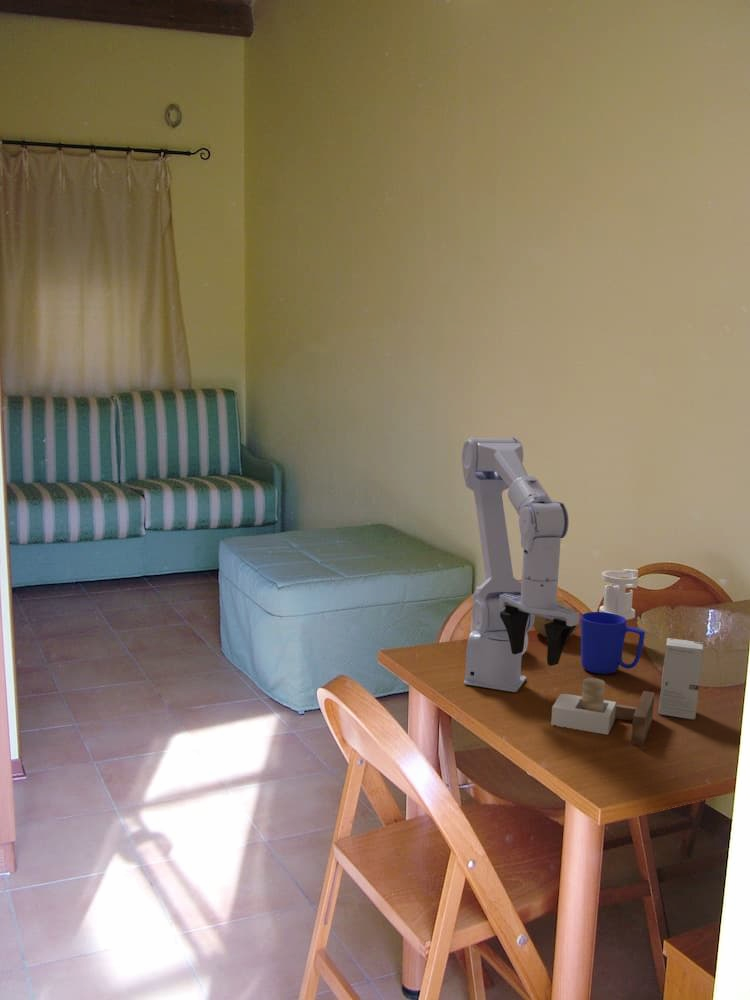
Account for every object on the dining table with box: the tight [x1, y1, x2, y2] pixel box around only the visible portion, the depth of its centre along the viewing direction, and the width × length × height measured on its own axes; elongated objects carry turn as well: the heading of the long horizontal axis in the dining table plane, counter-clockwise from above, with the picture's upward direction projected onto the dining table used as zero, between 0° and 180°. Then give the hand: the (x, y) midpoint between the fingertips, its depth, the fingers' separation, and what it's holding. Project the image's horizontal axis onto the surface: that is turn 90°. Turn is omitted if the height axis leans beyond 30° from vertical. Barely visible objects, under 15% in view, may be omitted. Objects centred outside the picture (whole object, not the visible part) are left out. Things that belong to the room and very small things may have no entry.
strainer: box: [598, 568, 639, 621], centre depth 211 cm, size 7×7×15 cm
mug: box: [580, 611, 646, 675], centre depth 192 cm, size 8×12×10 cm
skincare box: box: [658, 637, 705, 720], centre depth 173 cm, size 6×4×12 cm
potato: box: [532, 595, 579, 638], centre depth 213 cm, size 10×14×8 cm
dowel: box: [581, 677, 606, 713], centre depth 167 cm, size 3×3×6 cm
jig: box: [615, 690, 656, 747], centre depth 167 cm, size 15×12×4 cm
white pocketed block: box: [550, 692, 617, 735], centre depth 168 cm, size 9×7×3 cm
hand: (534, 658), depth 170 cm, fingers open, 7 cm apart
